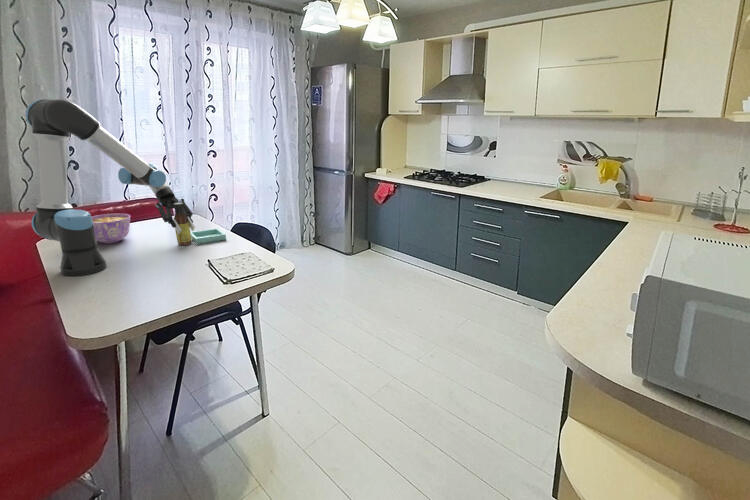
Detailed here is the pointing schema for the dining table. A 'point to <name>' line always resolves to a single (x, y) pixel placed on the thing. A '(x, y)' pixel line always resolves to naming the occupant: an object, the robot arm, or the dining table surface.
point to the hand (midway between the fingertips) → (186, 230)
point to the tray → (207, 236)
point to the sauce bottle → (182, 225)
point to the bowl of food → (111, 227)
